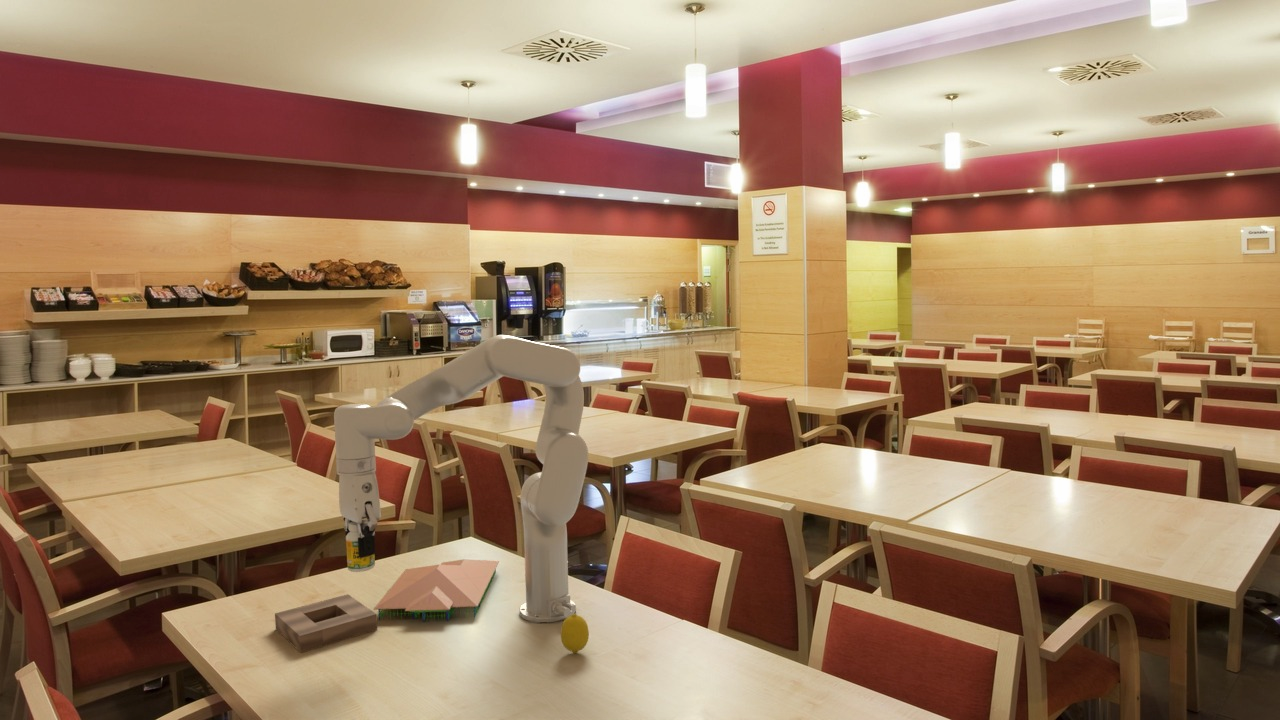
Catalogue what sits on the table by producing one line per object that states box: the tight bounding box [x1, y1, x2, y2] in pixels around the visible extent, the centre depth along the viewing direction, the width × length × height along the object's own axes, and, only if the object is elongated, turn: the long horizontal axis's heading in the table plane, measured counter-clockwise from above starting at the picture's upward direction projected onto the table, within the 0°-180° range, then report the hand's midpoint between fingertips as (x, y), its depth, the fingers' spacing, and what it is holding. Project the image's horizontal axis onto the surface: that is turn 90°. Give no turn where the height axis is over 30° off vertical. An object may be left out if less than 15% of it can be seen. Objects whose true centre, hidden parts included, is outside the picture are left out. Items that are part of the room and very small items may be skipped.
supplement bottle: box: [345, 519, 376, 573], centre depth 163 cm, size 5×5×10 cm
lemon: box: [560, 613, 590, 654], centre depth 158 cm, size 6×6×8 cm
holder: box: [274, 593, 378, 653], centre depth 172 cm, size 16×16×4 cm
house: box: [373, 559, 500, 623], centre depth 190 cm, size 23×33×8 cm
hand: (360, 551), depth 163 cm, fingers closed on supplement bottle, 5 cm apart
